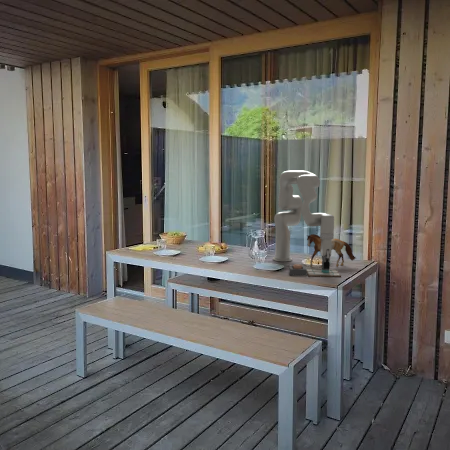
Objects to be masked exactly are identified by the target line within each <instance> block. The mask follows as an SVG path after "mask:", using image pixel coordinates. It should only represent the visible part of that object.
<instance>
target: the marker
mask: <svg viewBox="0 0 450 450" xmlns="http://www.w3.org/2000/svg"><path fill="white" fill-rule="evenodd" d="M325 256H327V255H325ZM321 265H322V267H321V269H322V273H329V270H331V269H330V268H329V269H324V257H323V256H322V255H321Z"/></svg>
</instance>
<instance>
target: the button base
mask: <svg viewBox="0 0 450 450" xmlns="http://www.w3.org/2000/svg"><path fill="white" fill-rule="evenodd" d="M307 269H308V268H306V265H302V269H293V265H288V273H289V276H300V275H306V276H307Z"/></svg>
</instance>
